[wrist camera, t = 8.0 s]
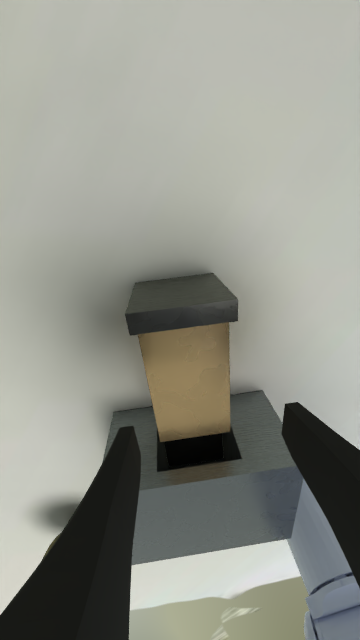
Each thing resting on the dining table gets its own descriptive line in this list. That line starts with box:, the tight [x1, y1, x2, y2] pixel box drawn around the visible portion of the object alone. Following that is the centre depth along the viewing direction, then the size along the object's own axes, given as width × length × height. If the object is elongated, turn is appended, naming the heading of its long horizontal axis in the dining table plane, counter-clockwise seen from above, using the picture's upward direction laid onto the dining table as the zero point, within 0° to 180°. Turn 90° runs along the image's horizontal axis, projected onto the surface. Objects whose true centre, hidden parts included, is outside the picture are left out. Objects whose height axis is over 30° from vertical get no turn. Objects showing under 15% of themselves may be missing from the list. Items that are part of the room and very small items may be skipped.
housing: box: [103, 391, 304, 565], centre depth 20 cm, size 14×10×7 cm
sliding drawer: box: [125, 273, 238, 442], centre depth 16 cm, size 6×10×6 cm, turn 6°
